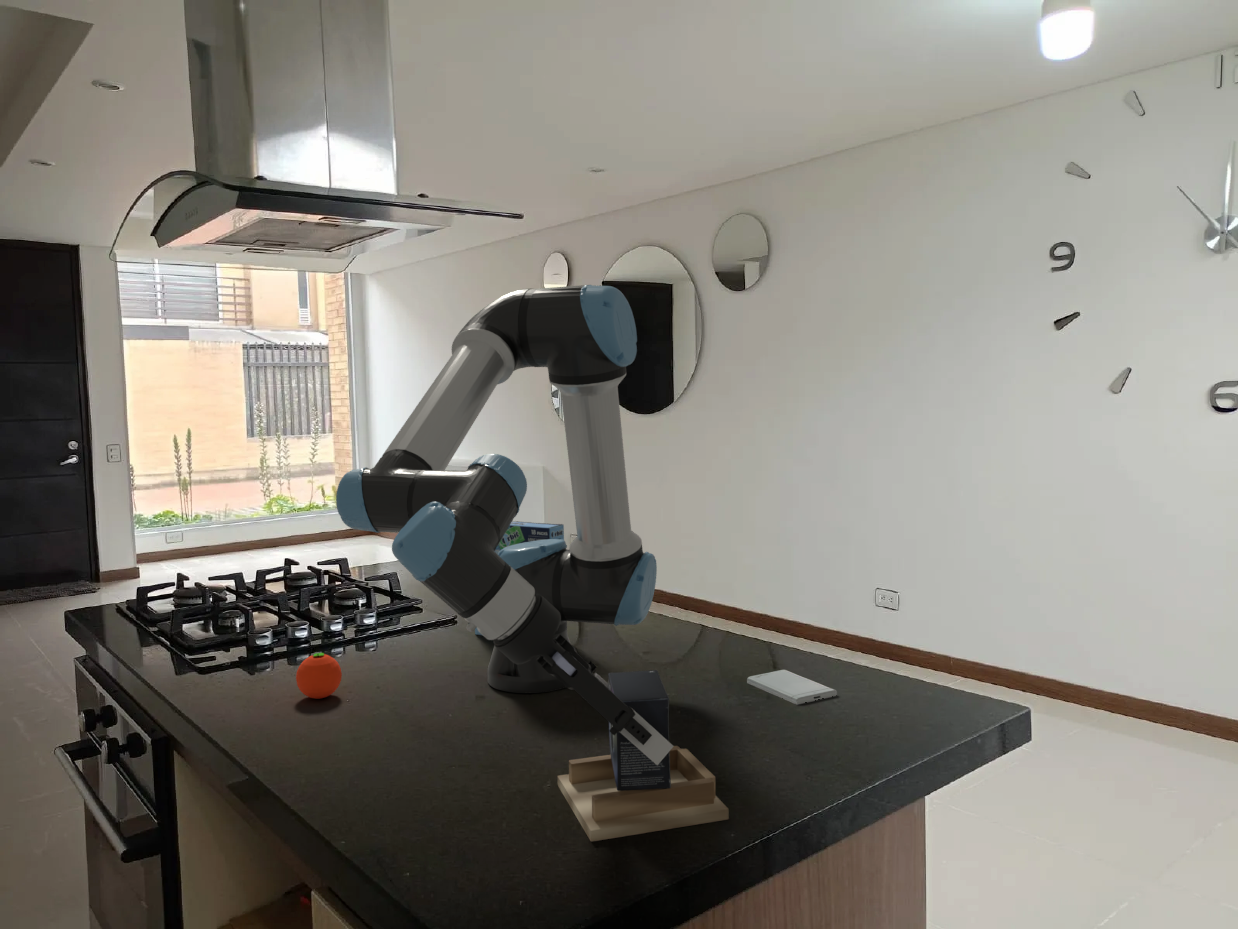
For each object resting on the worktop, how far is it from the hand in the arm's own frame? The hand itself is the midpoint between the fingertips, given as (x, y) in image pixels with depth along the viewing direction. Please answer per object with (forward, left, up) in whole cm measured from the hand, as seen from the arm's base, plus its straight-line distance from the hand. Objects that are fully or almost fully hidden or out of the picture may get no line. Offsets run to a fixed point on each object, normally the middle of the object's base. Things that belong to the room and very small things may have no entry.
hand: (643, 733), depth 107 cm
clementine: (-53, -37, -8) cm, 65 cm away
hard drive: (-31, +36, -9) cm, 48 cm away
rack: (0, -1, -8) cm, 8 cm away
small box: (0, -1, -5) cm, 5 cm away
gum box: (-77, 0, -8) cm, 77 cm away
